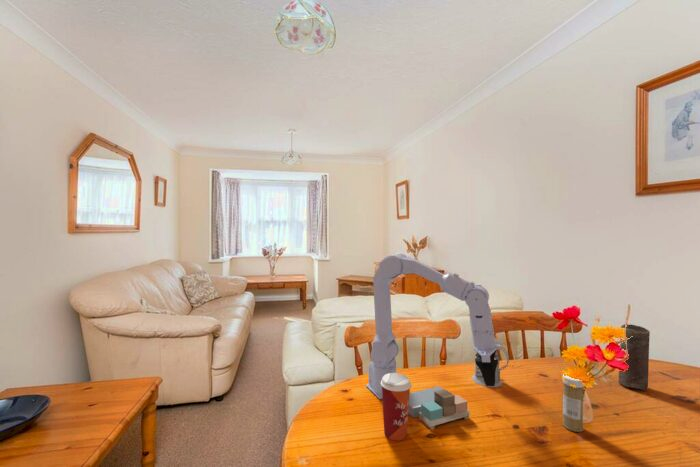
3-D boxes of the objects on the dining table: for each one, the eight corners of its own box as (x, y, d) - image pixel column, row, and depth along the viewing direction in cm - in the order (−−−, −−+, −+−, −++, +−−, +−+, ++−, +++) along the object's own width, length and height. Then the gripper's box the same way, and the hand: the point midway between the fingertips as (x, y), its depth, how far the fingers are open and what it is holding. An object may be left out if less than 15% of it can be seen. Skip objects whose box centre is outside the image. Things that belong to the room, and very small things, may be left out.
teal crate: (420, 412, 87) (421, 403, 87) (432, 409, 89) (432, 400, 89) (430, 420, 83) (430, 411, 83) (442, 417, 85) (442, 408, 85)
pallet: (418, 419, 87) (419, 393, 87) (456, 409, 93) (456, 384, 93) (430, 429, 83) (430, 403, 83) (469, 418, 88) (469, 392, 88)
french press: (475, 371, 118) (476, 303, 118) (510, 380, 111) (511, 308, 111) (468, 381, 110) (469, 308, 110) (505, 391, 103) (506, 314, 103)
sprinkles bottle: (586, 429, 84) (587, 377, 84) (578, 435, 81) (579, 382, 81) (566, 420, 87) (567, 371, 87) (558, 425, 85) (559, 375, 85)
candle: (645, 385, 108) (646, 326, 108) (651, 394, 102) (652, 331, 102) (616, 379, 112) (617, 322, 112) (620, 388, 106) (621, 327, 106)
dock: (398, 404, 95) (398, 395, 95) (439, 394, 101) (439, 385, 101) (413, 417, 88) (413, 408, 88) (455, 405, 94) (455, 397, 94)
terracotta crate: (445, 406, 91) (446, 397, 91) (456, 403, 92) (457, 394, 92) (455, 413, 87) (456, 404, 87) (467, 410, 89) (467, 401, 89)
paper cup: (403, 447, 76) (404, 388, 76) (374, 436, 80) (375, 380, 80) (415, 430, 82) (416, 376, 82) (388, 421, 87) (388, 369, 86)
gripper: (499, 337, 81) (508, 391, 80) (496, 322, 95) (503, 369, 94) (470, 337, 84) (478, 390, 83) (471, 323, 97) (478, 369, 96)
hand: (489, 379), depth 88 cm, fingers open, 7 cm apart
